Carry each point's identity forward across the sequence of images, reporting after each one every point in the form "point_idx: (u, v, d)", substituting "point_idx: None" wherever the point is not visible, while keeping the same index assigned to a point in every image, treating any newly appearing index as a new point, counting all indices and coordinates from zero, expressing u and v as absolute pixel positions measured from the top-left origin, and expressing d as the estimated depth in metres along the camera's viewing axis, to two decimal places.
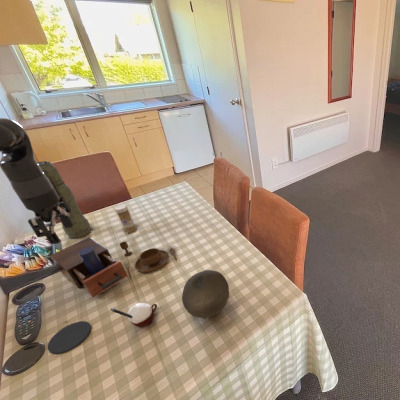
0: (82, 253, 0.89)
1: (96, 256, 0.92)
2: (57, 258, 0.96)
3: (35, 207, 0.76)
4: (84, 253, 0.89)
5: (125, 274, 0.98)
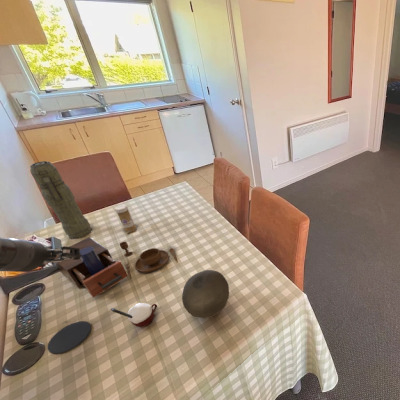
0: (82, 253, 0.89)
1: (96, 256, 0.92)
2: (57, 258, 0.96)
3: None
4: (84, 253, 0.89)
5: (125, 274, 0.98)
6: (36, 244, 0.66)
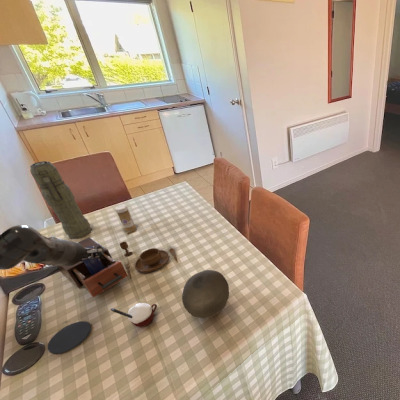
0: None
1: None
2: None
3: None
4: None
5: (125, 274, 0.98)
6: (77, 244, 0.81)
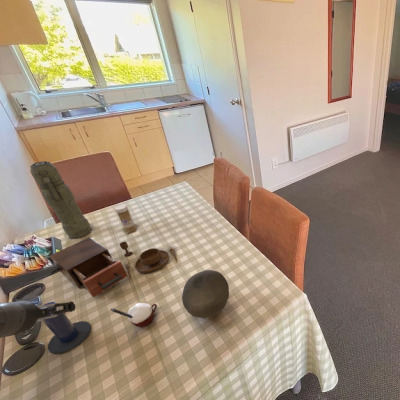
0: None
1: None
2: (57, 258, 0.96)
3: None
4: None
5: (125, 274, 0.98)
6: (27, 305, 0.63)
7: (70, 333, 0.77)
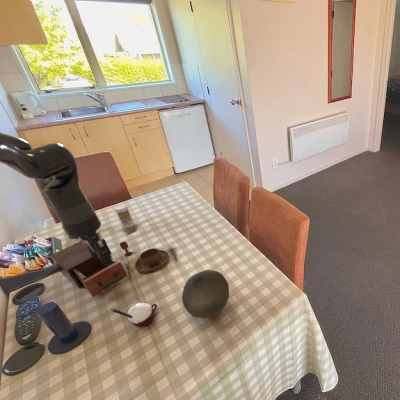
0: (41, 312, 0.71)
1: (60, 313, 0.74)
2: (57, 258, 0.96)
3: None
4: (43, 312, 0.71)
5: (125, 274, 0.98)
6: (94, 221, 0.75)
7: (70, 333, 0.77)
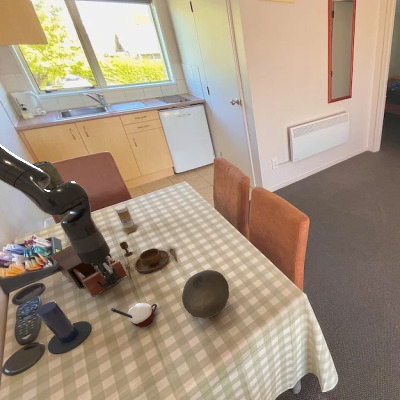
0: (41, 312, 0.71)
1: (60, 313, 0.74)
2: (57, 258, 0.96)
3: None
4: (43, 312, 0.71)
5: (124, 274, 0.98)
6: (105, 248, 0.83)
7: (70, 333, 0.77)
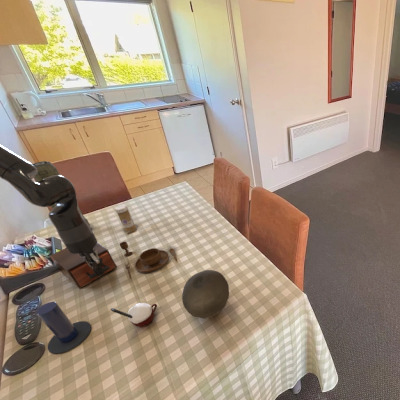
0: (41, 312, 0.71)
1: (60, 313, 0.74)
2: (57, 258, 0.96)
3: None
4: (43, 312, 0.71)
5: (113, 265, 1.02)
6: (92, 239, 0.87)
7: (70, 333, 0.77)
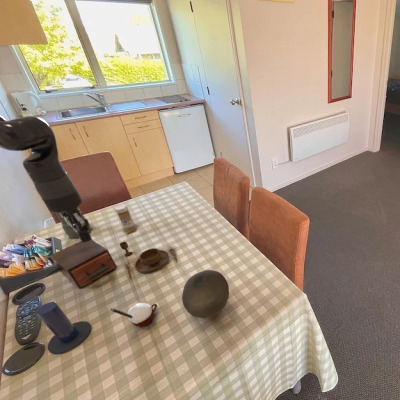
0: (41, 312, 0.71)
1: (60, 313, 0.74)
2: (57, 258, 0.96)
3: None
4: (43, 312, 0.71)
5: (113, 265, 1.02)
6: (75, 197, 0.75)
7: (70, 333, 0.77)
